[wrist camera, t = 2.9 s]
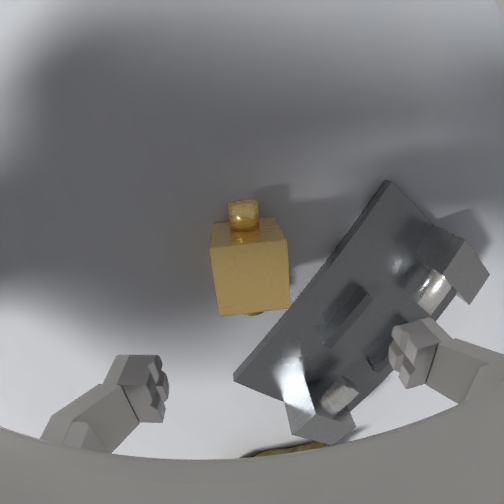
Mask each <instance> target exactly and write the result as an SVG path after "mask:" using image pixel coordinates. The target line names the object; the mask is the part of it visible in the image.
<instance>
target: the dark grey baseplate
mask: <svg viewBox="0 0 504 504" xmlns="http://www.w3.org/2000/svg"><path fill="white" fill-rule="evenodd" d="M489 275H490V274H489V273H488V271H487V270H486V268H485V267H484V265H483V264H482V262H481V261H480V260H479V258H478V257H477V255H476V254H475V251H474V249H473V248H472V247H471V246H470V245H469V244H468V243H467V242H466V240H464V239H462V238H460V237H458V236H456V235H454V234H452V233H450V232H447V231H445V230H443V229H441V228H439V227H436V226H434V225H433V224H432V223H431V222H430V221H429V219H428V218H427V217H426V216H425V215H424V214H423V213H422V212H421V211H420V210H419V209H418V208H417V207H416V205H415V204H414V203H413V202H412V201H411V200H410V199H409V198H408V197H407V196H406V195H405V194H404V193H403V192H402V191H401V190H400V189H399V188H398V187H397V186H396V185H395V184H394V183H393V182H392V181H388V180H385V181H384V182H383V184H382V185H381V187H380V188H379V190H378V191H377V193H376V194H375V195H374V197H373V198H372V200H371V201H370V202H369V204H368V205H367V207H366V208H365V210H364V211H363V212H362V214H361V215H360V217H359V218H358V219H357V221H356V222H355V223H354V225H353V226H352V228H351V229H350V230H349V232H348V233H347V234H346V236H345V237H344V238H343V240H342V241H341V242H340V244H339V245H338V246H337V248H336V249H335V250H334V252H333V253H332V254H331V256H330V257H329V258H328V260H327V261H326V262H325V264H324V265H323V266H322V267H321V269H320V270H319V271H318V273H317V274H316V275H315V276H314V278H313V279H312V280H311V282H310V283H309V284H308V285H307V287H306V288H305V289H304V290H303V292H302V293H301V294H300V295H299V297H298V298H297V299H296V300H295V302H294V303H293V304H292V305H291V307H290V308H289V309H288V310H287V311H286V313H285V314H284V315H283V316H282V318H281V319H280V320H279V321H278V322H277V324H276V325H275V326H274V327H273V328H272V330H271V331H270V332H269V333H268V334H267V335H266V337H265V338H264V339H263V340H262V341H261V342H260V344H259V345H258V346H257V347H256V348H255V349H254V351H253V352H252V353H251V354H250V355H249V356H248V358H247V359H246V360H245V361H244V362H243V363H242V364H241V365H240V367H239V368H238V369H237V370H236V371H235V372H234V373H233V376H234V381H235V382H237V383H239V384H242V385H244V386H246V387H249V388H251V389H253V390H256V391H258V392H261V393H263V394H265V395H268V396H270V397H273V398H276V399H278V400H281V401H283V402H285V407H286V411H287V415H288V420H289V424H290V429H291V433H292V435H295V436H299V437H302V438H306V439H310V440H314V441H317V442H321V443H325V444H330V445H334V444H335V443H336V442H338V441H339V440H340V439H342V438H343V437H344V436H345V435H347V434H348V433H349V432H350V431H351V430H353V429H354V428H355V427H356V425H355V423H354V421H353V418H352V416H351V414H350V411H351V410H352V409H353V408H355V407H356V406H357V405H358V404H359V403H360V402H361V401H362V400H363V399H364V398H365V397H367V396H368V395H369V394H370V393H371V392H372V391H373V390H374V389H375V388H376V387H377V386H378V385H379V384H380V383H381V382H382V381H383V380H384V379H385V378H386V377H387V376H388V375H389V374H390V373H391V372H392V371H393V370H394V369H393V368H392V366H391V364H390V361H389V355H388V352H389V346H390V344H391V343H392V342H393V340H394V339H393V337H392V336H391V335H392V330H393V328H394V326H396V325H401V324H405V323H409V322H414V321H417V320H420V319H423V318H427V317H430V318H432V319H433V320H434V321H435V322H436V320H437V319H438V318H439V316H440V315H441V314H442V313H443V311H444V310H445V309H446V307H447V306H448V305H449V303H450V302H451V301H452V299H453V298H454V297H455V295H457V296H458V297H460V298H461V299H462V300H464V301H465V302H466V303H468V304H469V305H470V303H471V302H472V300H473V299H474V298H475V296H476V295H477V293H478V292H479V290H480V289H481V287H482V286H483V284H484V283H485V281H486V280H487V278H488V277H489Z"/></svg>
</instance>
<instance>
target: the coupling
mask: <svg viewBox="0 0 504 504" xmlns="http://www.w3.org/2000/svg"><path fill="white" fill-rule="evenodd" d="M228 213H229V222H222V223H214V226H213V231H212V236H211V241H210V247H209V250H210V258H211V264H212V271H213V278H214V285H215V291H216V298H217V304H218V310H219V316H225V315H235V314H245V315H258V314H261V313H263V312H264V311H270V310H278V309H286V308H290V285H289V264H288V244H287V239H286V237H285V236H284V234H283V233H282V231H281V229H280V228H279V226H278V225H277V223H276V222H275V220H274V219H273V217H269V218H259V212H258V201H257V200H238V201H233V202H230V203H228Z"/></svg>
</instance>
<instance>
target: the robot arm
mask: <svg viewBox="0 0 504 504" xmlns="http://www.w3.org/2000/svg"><path fill="white" fill-rule="evenodd" d="M391 336H392V337H393V339H394V340H393V342H392V343H391V344H390V346H389V352H388V355H389V361H390V364H391V366H392V368H393V369H394V370H395V371H398V372H400V374H399V379H400V380H401V382H402V384H403V385H404V387H405V388H406V389H409V388H412V387H416V386H419V385H422V384H426V385H427V386H429V387H431V388H432V389H434V390H436V391H437V392H439V393H441V394H442V395H444V396H446V397H448V398H449V399H451V400H453V401H454V402H456V403H458V404H459V405H456V406H454V407H452V408H450V409H447V410H445V411H443V412H440V413H438V414H435V415H433V416H430V417H427V418H425V419H422V420H419V421H417V422H414V423H411V424H408V425H405V426H402V427H399V428H396V429H393V430H390V431H387V432H383V433H380V434H377V435H373V436H369V437H366V438H362V439H358V440H354V441H350V442H346V443H341V444H337V445H332V446H328V447H323V448H317V449H312V450H306V451H300V452H293V453H286V454H279V455H271V456H261V457H250V458H236V459H210V460H185V459H159V458H145V457H134V456H125V455H117V454H111V453H112V452H113V451H114V450H115V449H116V448H117V447H118V446H119V445H120V444H121V443H122V441H123V440H124V439H125V438H126V437H127V436H128V435H129V434H130V433H131V432H132V431H133V430H134V429H135V428H136V427H137V426H138V425H139V424H140V423H139V422H150V423H163V418H164V414H165V409H166V408H165V406H164V402H165V401H166V400H167V399H168V394H169V384H168V379H167V376H166V374H165V373H164V372H163V371H162V370H161V368H162V361H161V359H160V356H158V355H118V356H116V357H115V359H114V361H113V363H112V366H111V368H110V370H109V372H108V374H107V376H106V378H105V380H104V382H103V384H98V385H97V386H95V387H94V388H92V389H91V390H89V391H88V392H86V393H85V394H83V395H82V396H80V397H79V398H78V399H76V400H75V401H73V402H72V403H70V404H69V405H67V406H66V407H64V408H63V409H61V410H59V411H58V412H56V413H55V414H53V415H52V416H51V418H50V420H49V422H48V424H47V426H46V428H45V430H44V432H43V434H42V436H41V438H40V439H38V438H34V437H31V436H28V435H24V434H21V433H18V432H15V431H12V430H9V429H6V428H3V427H1V426H0V504H504V354H501V353H498V352H495V351H492V350H489V349H486V348H483V347H480V346H477V345H474V344H471V343H468V342H465V341H462V340H459V339H457V338H455V339H452V338H451V337H450V336H449V335H448V334H447V333H446V332H445V331H444V330H443V329H442V328H441V327H440V326H439V325H438V324H437V323H436V322H435V321H434V320H433V319H432V318H430V317H427V318H423V319H420V320H417V321H414V322H409V323H405V324H401V325H396V326H394V328H393V330H392V335H391Z"/></svg>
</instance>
